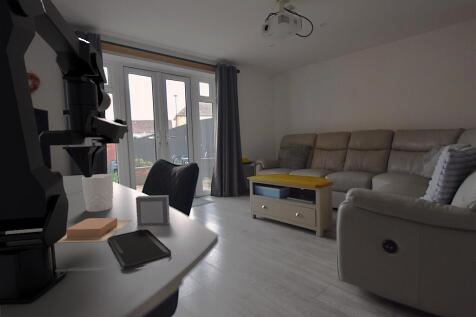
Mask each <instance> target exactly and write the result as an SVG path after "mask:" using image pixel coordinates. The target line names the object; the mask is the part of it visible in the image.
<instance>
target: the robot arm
mask: <svg viewBox="0 0 476 317" xmlns="http://www.w3.org/2000/svg"><path fill="white" fill-rule="evenodd" d="M36 34H37V35H38V36H39V37H40V38H41V39H42V40H43V41H44V42H45V43H46V44H47V45H48V46H49V47H50V48H51V49H52V51H53V52H54V53H55V63H56V64H57V66H58V67H59V70H60V72H61V74H62V77H61V79H62V80H63V81H65V90H66V91H65V93H66V102H67V103H66V105H67V109H63V110H62V115H63V116H67V117H68V127H69V129H63V130H62V129H61V130H60V129H59V130H56V129H55V130H42V132H41V133H40V134H39V131H38V130H39V129H38V126H37V121H36V120H37V119H36V115H35V110H34V103H33V98H32V94H31V93H32V92H31V87H30V82H29V76H28V71H27V67H26V61H25V54H26V53H27V51H28V49H29V47H30V45H31V44H32V41H33V40H34V38H35V37H36ZM102 84H103V85H105V84H108V80H107V75H106V73H105V68H104V64H103V60H102V57H101V55H100V53H99V52H97V50H96V48H95V47H94V46H93V45H92V44H91V43H90V42H89V41H86V40H84V39H82V38H80V37H79V36H77V35H76V33H75V32H74V30H73V29H72V27H71V26H70V25H69V23H68V22H67V20H66V19H65V17H64V16H63V15H62V14H61V12H60V11H59V9H58V8H57V7H56V5H55V4H54V3H53V1H52V0H0V304H23V303H24V304H28V303H29V304H30V303H32V302H34V301H35V300H36V299H39V297H40V296H42V294H45V293H46V292H47V291H48V290H50V289H51V288H52V287H53V286H54V285H56V283H58V282H60V280H62V279H63V278H65V277H66V276H67V272H66V271H64V270H63V271H61V270H60V271H56V270H57V261H56V260H57V259H56V250H55V244H57V243H56V242H58V241H59V240H60V239H62V238H63V237H64V236H65V235H66V230H67V229H68V228H67V227H68V218H69V217H68V216H69V207H70V206H69V199H68V196H67V195H68V194H67V193H66V191H65V186H64V177H63V176H64V175H62V174H61V172H60V171H51V169H49V167H48V166H47V165H45V162H44V158H43V153H42V147H45V146H62V147H61V148H62V150H65V151H66V153H67V154H68V155H69V157H70V158H71V159H72V160H73V161H74V163H75V164H76V166H77V168H78V169H79V171H80V172H81V174H82V175H83V177H85V178H90V177H92V175H94V170H95V167H96V162H97V159H98V156H99V154H100V153H102V151H103V150H105V149H106V148H108V145H107V144H109V145H114V144H115V145H116V144H120V140H124V137H125V134H126V133H129V129H128V128H129V126H128V123H127V120H125V119H122V118H118V117H117V118H116V119H115V120H110V119H107V118H105V113H104V111H105V112H106V111H107V110H108V109H109V108H110V107H111V104H112V99H111V97H110V95H109V93H108V92H107V91H106V90H104V89H103V85H102ZM38 229H39V231H29V232H25V230H26V231H27V230H38ZM40 229H42V230H41V231H40ZM13 231H14V232H15V231H24V232H17V233H16V232H15V233H7V232H13Z"/></svg>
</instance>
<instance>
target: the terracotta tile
mask: <svg viewBox="0 0 476 317" xmlns="http://www.w3.org/2000/svg"><path fill="white" fill-rule="evenodd" d="M117 220H118V217H99V218H98V217H95V218H93V217H91V218H86V219H84V220H82V221H80V222H78V223H76V224H74V225H72V226H70V227H68V228H67V230H66V233H67V237H94V236H102V235H103V234H105V233H106V232H108V231H109V230H111V229H112V228H113V227H115V226H116V225H118V224H117Z"/></svg>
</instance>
